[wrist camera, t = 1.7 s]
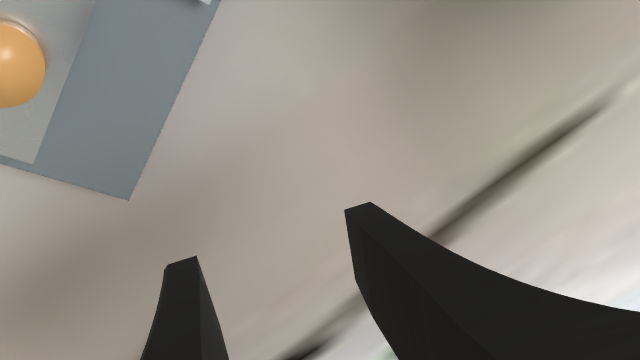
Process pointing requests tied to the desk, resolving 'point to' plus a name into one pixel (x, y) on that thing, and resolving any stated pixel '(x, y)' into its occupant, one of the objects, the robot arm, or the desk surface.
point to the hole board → (120, 92)
